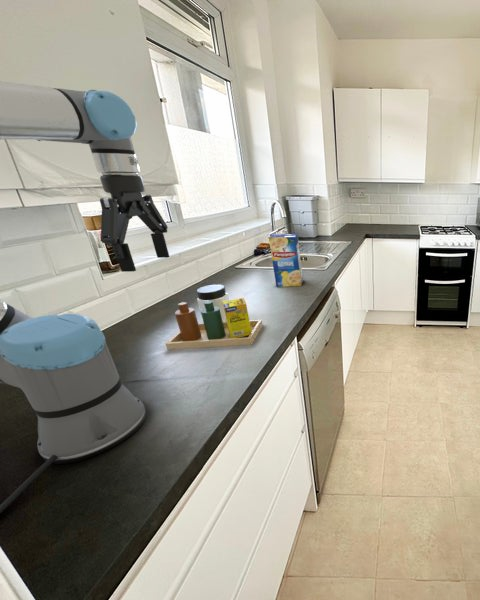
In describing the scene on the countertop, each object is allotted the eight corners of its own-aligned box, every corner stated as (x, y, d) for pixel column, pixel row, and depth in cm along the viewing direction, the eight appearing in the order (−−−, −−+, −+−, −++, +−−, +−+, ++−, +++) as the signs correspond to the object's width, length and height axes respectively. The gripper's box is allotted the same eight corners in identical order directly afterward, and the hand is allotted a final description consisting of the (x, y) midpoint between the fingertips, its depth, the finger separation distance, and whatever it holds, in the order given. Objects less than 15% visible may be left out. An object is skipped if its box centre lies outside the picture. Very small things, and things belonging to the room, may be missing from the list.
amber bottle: (197, 341, 92) (187, 306, 88) (179, 342, 92) (168, 307, 87) (204, 333, 97) (195, 299, 92) (187, 334, 96) (177, 300, 92)
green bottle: (222, 340, 93) (213, 305, 89) (205, 341, 93) (195, 305, 88) (228, 332, 98) (220, 298, 93) (211, 333, 97) (203, 299, 93)
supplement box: (253, 336, 95) (246, 303, 91) (231, 341, 92) (223, 308, 88) (250, 328, 100) (243, 297, 96) (229, 333, 97) (221, 301, 93)
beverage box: (301, 285, 141) (295, 236, 132) (276, 286, 139) (268, 237, 131) (303, 280, 147) (297, 233, 139) (279, 282, 145) (271, 234, 137)
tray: (251, 346, 91) (250, 338, 90) (168, 352, 88) (165, 343, 87) (263, 327, 103) (261, 319, 102) (189, 331, 100) (187, 323, 99)
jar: (204, 329, 101) (195, 294, 97) (202, 320, 108) (194, 287, 103) (234, 322, 106) (227, 289, 101) (231, 314, 112) (224, 282, 108)
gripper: (94, 174, 61) (129, 277, 69) (169, 174, 84) (188, 252, 92) (52, 174, 60) (92, 278, 68) (139, 174, 83) (161, 252, 91)
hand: (147, 263), depth 80 cm, fingers open, 13 cm apart
